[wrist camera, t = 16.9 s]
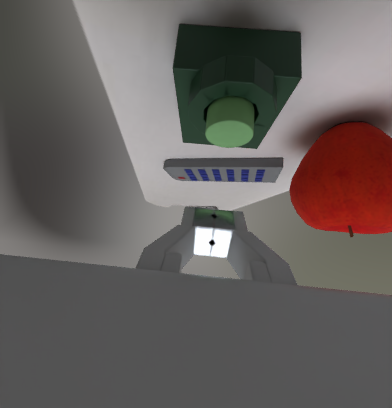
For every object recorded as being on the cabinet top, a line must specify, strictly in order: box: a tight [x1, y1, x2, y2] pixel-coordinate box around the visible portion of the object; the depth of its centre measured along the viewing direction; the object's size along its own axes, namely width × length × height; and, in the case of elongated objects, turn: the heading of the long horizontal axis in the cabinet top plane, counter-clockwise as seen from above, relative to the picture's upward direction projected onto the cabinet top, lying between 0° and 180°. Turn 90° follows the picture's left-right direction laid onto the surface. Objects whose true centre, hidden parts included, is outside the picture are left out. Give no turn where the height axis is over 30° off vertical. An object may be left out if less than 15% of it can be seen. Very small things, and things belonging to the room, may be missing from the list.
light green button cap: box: [205, 96, 254, 148], centre depth 15 cm, size 4×4×2 cm
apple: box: [290, 122, 392, 237], centre depth 23 cm, size 12×12×13 cm
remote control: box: [163, 158, 283, 183], centre depth 39 cm, size 8×23×2 cm, turn 103°
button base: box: [173, 24, 302, 149], centre depth 18 cm, size 11×9×6 cm
